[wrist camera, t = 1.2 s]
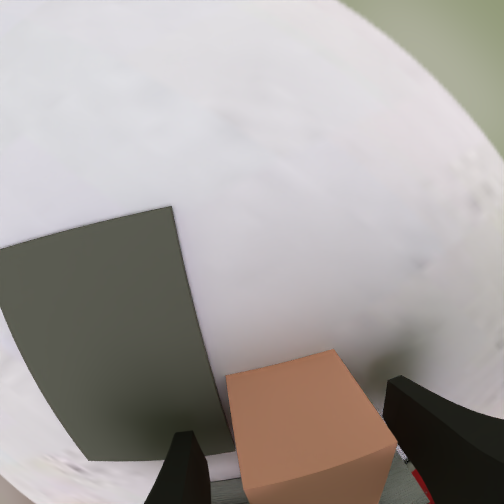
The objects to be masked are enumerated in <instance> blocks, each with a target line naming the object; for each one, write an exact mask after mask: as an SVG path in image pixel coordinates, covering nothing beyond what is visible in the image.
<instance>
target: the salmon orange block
mask: <svg viewBox="0 0 504 504" xmlns="http://www.w3.org/2000/svg"><path fill="white" fill-rule="evenodd" d="M225 376H226V383H227V390H228V397H229V404H230V411H231V417H232V424H233V430H234V437H235V443H236V449H237V455H238V461H239V467H240V473H241V479H242V484H243V490H244V492H245V494H246V496H247V498H248V501H249V503H250V504H378V503H379V500H380V497H381V494H382V492H383V489H384V486H385V483H386V480H387V477H388V474H389V471H390V467H391V464H392V461H393V457H394V454H395V450H396V447H397V443H398V441H397V440H396V438H395V437H394V435H393V434H392V433H391V431H390V430H389V428H388V427H387V425H386V424H385V422H384V421H383V419H382V418H381V417H380V415H379V414H378V412H377V411H376V409H375V408H374V406H373V405H372V403H371V402H370V401H369V399H368V398H367V396H366V395H365V393H364V392H363V390H362V389H361V388H360V386H359V385H358V383H357V382H356V380H355V379H354V377H353V376H352V375H351V373H350V372H349V370H348V369H347V367H346V366H345V364H344V363H343V362H342V360H341V359H340V357H339V356H338V354H337V353H336V352H335V350H334V349H331V350H328V351H324V352H321V353H317V354H314V355H310V356H306V357H303V358H299V359H295V360H291V361H287V362H283V363H279V364H275V365H271V366H267V367H263V368H258V369H254V370H249V371H245V372H240V373H235V374H230V375H225Z"/></svg>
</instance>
